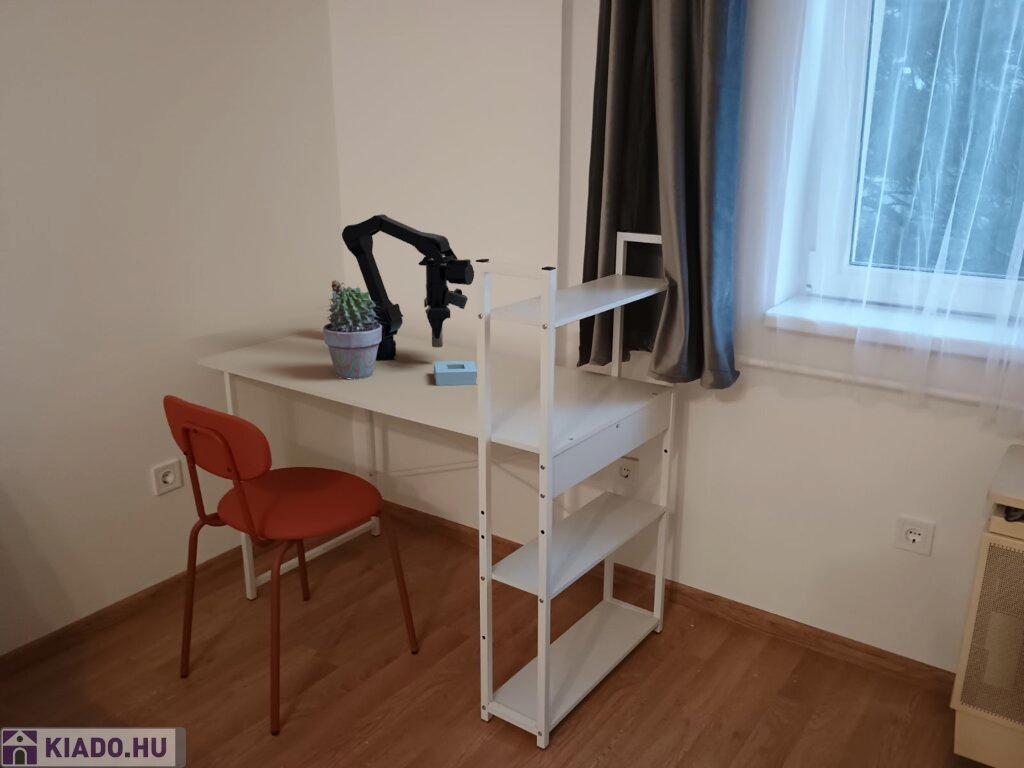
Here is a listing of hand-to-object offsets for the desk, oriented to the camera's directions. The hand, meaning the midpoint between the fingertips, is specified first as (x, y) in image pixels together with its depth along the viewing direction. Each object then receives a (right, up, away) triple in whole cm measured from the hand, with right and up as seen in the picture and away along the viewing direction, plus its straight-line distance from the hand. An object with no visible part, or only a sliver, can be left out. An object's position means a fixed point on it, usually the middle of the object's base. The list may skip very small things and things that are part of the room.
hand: (437, 337), depth 249 cm
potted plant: (-21, -11, -9) cm, 25 cm away
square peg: (0, -2, +1) cm, 3 cm away
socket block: (+6, -12, -12) cm, 18 cm away
